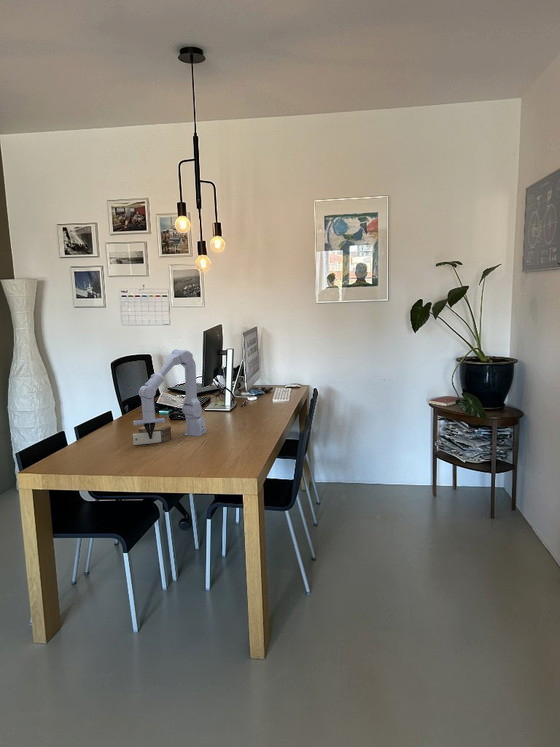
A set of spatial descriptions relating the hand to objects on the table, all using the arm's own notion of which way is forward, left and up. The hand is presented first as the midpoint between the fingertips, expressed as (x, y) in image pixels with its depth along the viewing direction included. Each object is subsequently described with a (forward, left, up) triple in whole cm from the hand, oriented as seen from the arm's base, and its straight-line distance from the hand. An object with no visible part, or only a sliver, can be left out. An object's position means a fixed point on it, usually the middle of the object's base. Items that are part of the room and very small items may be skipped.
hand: (150, 438), depth 250 cm
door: (+2, -1, -3) cm, 3 cm away
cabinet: (+4, -9, -3) cm, 10 cm away
